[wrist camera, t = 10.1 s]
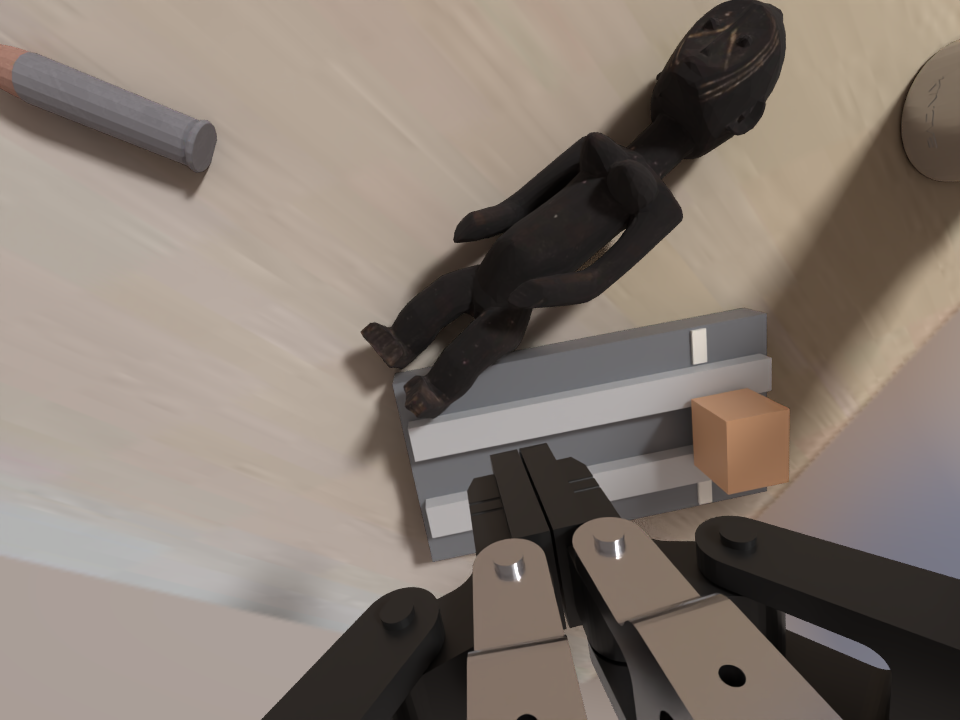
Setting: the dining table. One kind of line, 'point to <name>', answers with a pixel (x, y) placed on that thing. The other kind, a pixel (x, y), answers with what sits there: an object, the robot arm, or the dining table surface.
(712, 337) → the twin slider track
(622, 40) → the dining table surface
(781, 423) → the block
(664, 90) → the figurine
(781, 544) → the robot arm
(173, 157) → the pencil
